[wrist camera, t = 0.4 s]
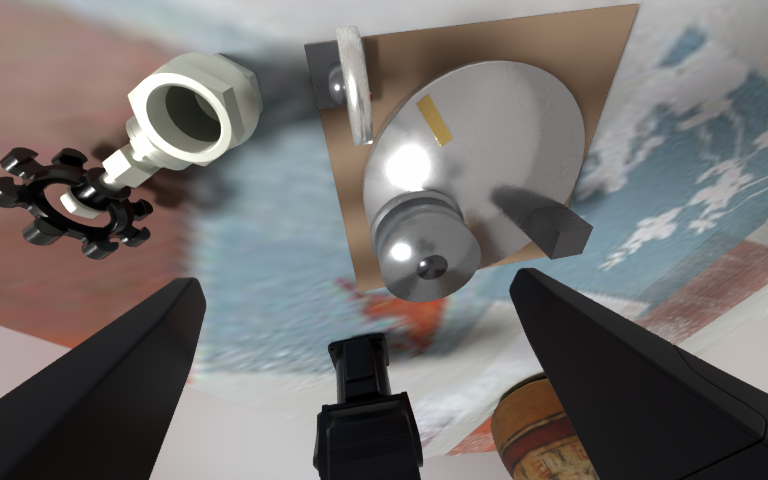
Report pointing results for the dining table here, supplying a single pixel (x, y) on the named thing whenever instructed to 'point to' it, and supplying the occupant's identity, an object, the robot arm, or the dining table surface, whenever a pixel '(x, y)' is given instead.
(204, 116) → the valve
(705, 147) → the dining table surface
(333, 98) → the dial gauge
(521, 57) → the base board
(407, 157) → the turntable
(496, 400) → the dining table surface
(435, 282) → the cover
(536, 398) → the ceramic pitcher
